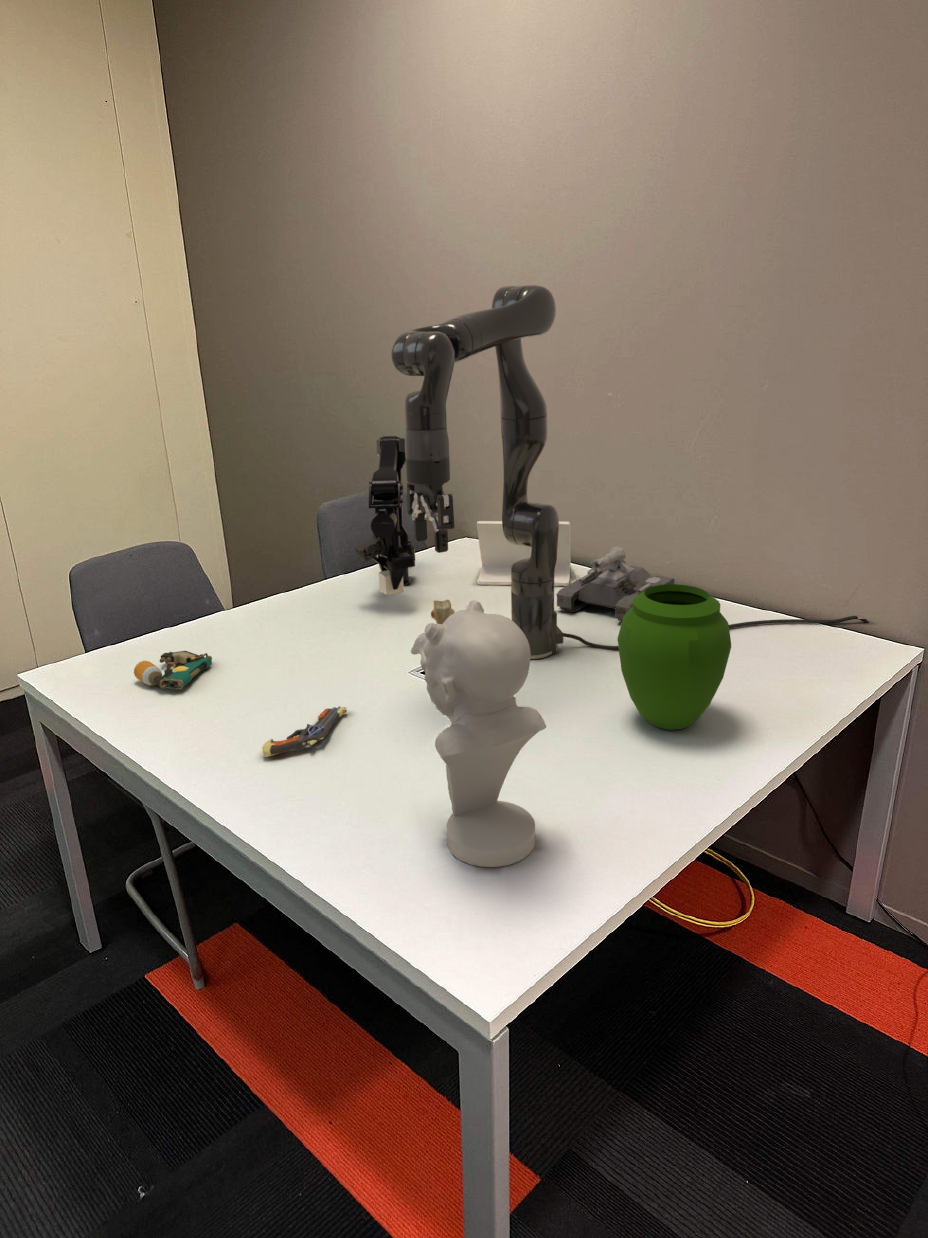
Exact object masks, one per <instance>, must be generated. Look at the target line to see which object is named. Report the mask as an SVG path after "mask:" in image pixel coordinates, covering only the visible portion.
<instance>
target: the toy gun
mask: <svg viewBox="0 0 928 1238" xmlns="http://www.w3.org/2000/svg"><path fill="white" fill-rule="evenodd" d="M347 708H348V707H347V706H340V705H339V706H337V707H336V706H333V707H332V708H325V709H324V710H323V711H322V712H321V713H320V714H319V715H318V716H317V721H316V722H315V723H314V724H309V723H307V724H306V727H305V728H302V729H295V730H294V732H293V733H291V734H290V735H288V736H287V737H286V739H283V740H274V739H273V738H269V740H266V742H264V743H263V745H262V747H261V748H262V749H261V750H262V754H263V756H264V757H267V758H268V757H272V756H275V755H276V756H277V755H280V754H283V753H287V752H290V751H293V750H298V749H300V748H303V747H306V746H309V745H310V746H313V745H314V744H316V743H318V742H319V741H321V740H324V738H325V737H327V735H328V733H329V732H330V731H331V729H332V727H333V725H334V724H335V723H336V722H337V721H338V720H339V718H341V717H342V715H344V714H347V712H348V709H347Z"/></svg>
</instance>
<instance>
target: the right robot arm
mask: <svg viewBox="0 0 928 1238" xmlns="http://www.w3.org/2000/svg"><path fill="white" fill-rule="evenodd" d="M556 307H557V306H556V300H555V298H554V295H553V293H552V292H551V290H550V289H548V288H547V287H545V286H544V285H543V286H542V285H537V284H524V285H521V284H519V285H504V286H501V287H499V288H498V289H497V290H496V291H495V293H494V294H493V298H492V302H491V308H487V309H481V310H477V311H471V312H467V313H463V314H461V315H458V316H456V317H453V318H451V319H448V320H446V321H444V322H441V323H438V324H434V325H433V324H432V325H427V326H423V327H417V328H413V329H409V330H406V331H404V332H402V333H401V334H400V335H399V336H397V338H396V339H395V340H394V342H393V344H392V347H391V350H390V357H391V358H390V359H391V362H392V364H393V366H394V368H395V369H396V370H397V371H398V372H399V373H401V374H403V375H405V376H408V377H409V376H410V377H423V381H422V385H421V387H420V389H419V390H415V391H412V392H409V393H408V394H406V396H405V397H404V404H403V407H404V408H403V409H404V422H405V423H404V425H405V432H404V433H405V434H404V439H405V457H406V465H405V475H406V482H407V483H406V506H407V511H406V513H407V515H408V516H411V520H412V521H413V529H414V540H415V541H416V542H424V541H427V540H428V521H430V522H431V524H432V526H433V530H434V533H433V535H434V551H435V552H436V553H438V554H440V553H441V554H442V553H447V552H448V550H449V531H450V530H454V529H455V512H454V497H453V494H452V493H444V492H445V491H444V487H443V486H444V485H445V484H447V483H448V482H450V481H451V466H450V465H451V462H450V461H451V460H450V440H449V434H448V423H447V421H448V419H447V417H448V416H447V400H448V396H449V392H450V387H451V381H452V376H453V373H454V367H455V364H456V363H460V362H462V361H465V360H467V359H469V358H472V357H473V356H474V357H475V356H476V355H478V354H480V353H482V352H485V351H487V350H489V349H492V348H494V347H495V355H496V363H497V372H498V383H499V399H500V400H499V402H500V403H499V404H500V408H499V409H500V431H501V443H502V444H501V445H502V465H503V470H502V471H503V481H502V483H503V485H502V486H503V488H502V506H501V507H502V508H501V521H502V527H503V533H504V536H505V538H506V539H507V541H508V542H510V543H512V544H517V545H522V546H528V547H532V549H531V557H530V558H526V559H522V560H519V561H516V562H515V563H513V565H512V567H511V585H510V588H511V589H510V597H511V599H510V603H511V604H510V606H511V607H510V609H511V610H510V615H511V617H510V619H511V620H512V621H513V622H514V623H515V624H516V625H517V626H518V627H519V628H520V629H521V630H522V632H523V633H524V634H525V636H526V638H527V640H528V643H529V646H530V652H531V653H530V655H531V656H530V660H540V659H545V658H548V657H550V656H552V655H557V654H558V653H557V650H558V649H557V648H558V647H557V645H562V644H564V638H568V639H573V640H576V641H579V642H580V643H582V644H583V645H585V646H588V647H591V648H594V649H595V648H596V649H601V650H609V651H619V647H618V645H604V644H597V643H594V642H591V641H587V640H586V639H584V638H583V637H581V636H579V635H576V634H572V633H567V632H563V631H562V630H561V628H560V627H558V613H557V612H556V611H555V586H554V571H555V567H556V562H557V549H558V535H559V522H560V520H559V514H558V511H557V509H556V507H554V506H553V505H551V504H547V503H541V502H540V503H539V502H532V501H529V499H528V485H529V484H528V483H529V478H530V474H531V472H532V470H533V468H534V466H535V465H536V463H537V461H538V459H539V457H540V456H541V454H542V452H543V451H544V448H545V446H546V444H547V440H548V409H547V404H546V400H545V397H544V396H543V393H542V392H541V390H540V388H539V386H538V385H537V383H536V381H535V379H534V378H533V376H532V374H531V373H530V371H529V369H528V367H527V364H526V362H525V358H524V357H525V356H524V351H523V346H522V339H524V338H536V337H540V336H542V335H545V334H546V333H548V332H549V331H550V329H551V328H552V326H553V324H554V322H555V319H556V314H557V313H556V311H557V309H556ZM427 520H428V521H427ZM857 616H858V615H850V616H845V617H840V618H837V619H811V618H810V619H809V618H807V619H806V618H805V619H804V618H799V619H798V618H791V619H790V618H789V619H787V618H785V619H781V618H780V619H762V620H752V621H743V622H739V623H732V624H729V629H734V628H740V627H747V626H757V625H769V624H771V625H772V624H839V623H843V622H847V621H852V620H859V621H862V622H863V623H864V624H870V622H869V620H868V619H867V618H865V619H858V617H857Z"/></svg>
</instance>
